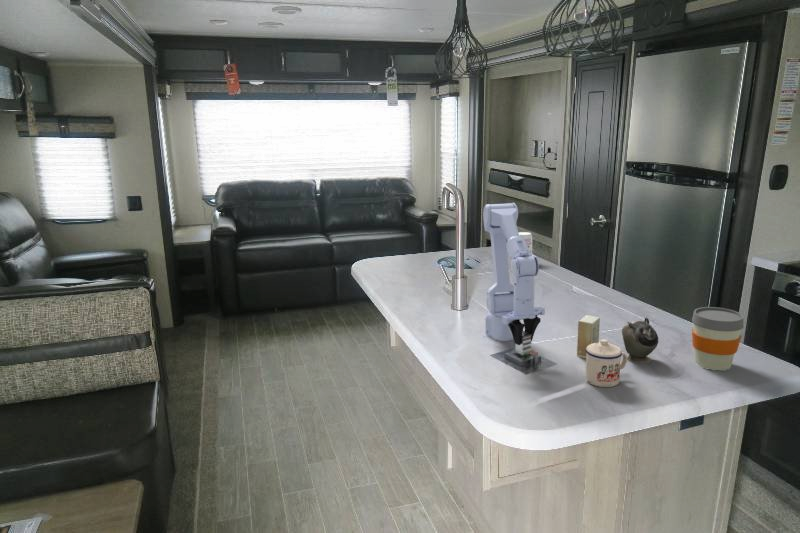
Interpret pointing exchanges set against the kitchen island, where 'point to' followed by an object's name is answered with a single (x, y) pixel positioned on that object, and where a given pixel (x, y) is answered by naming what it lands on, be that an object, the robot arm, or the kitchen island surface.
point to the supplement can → (527, 239)
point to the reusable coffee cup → (716, 336)
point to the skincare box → (587, 333)
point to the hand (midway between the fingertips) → (523, 342)
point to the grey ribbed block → (524, 344)
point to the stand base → (523, 361)
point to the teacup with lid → (604, 364)
